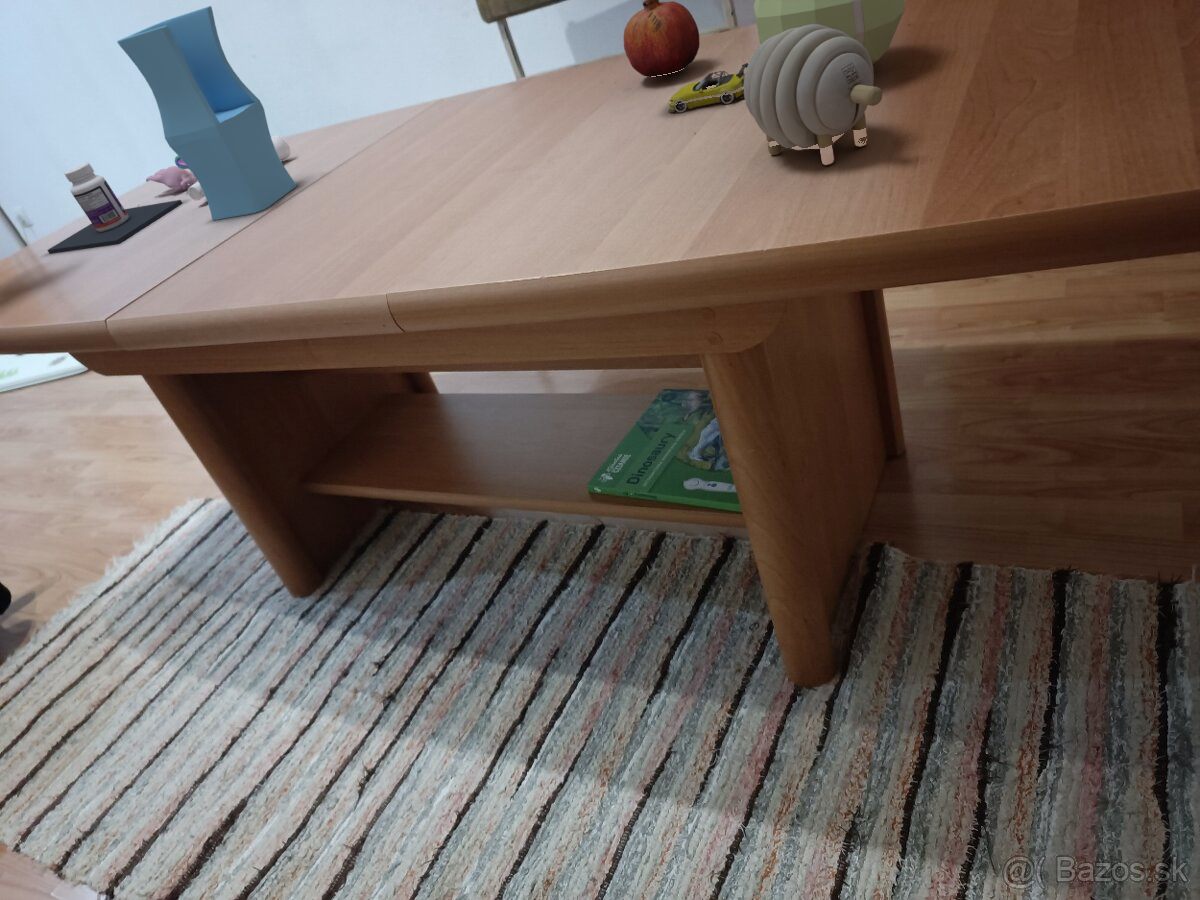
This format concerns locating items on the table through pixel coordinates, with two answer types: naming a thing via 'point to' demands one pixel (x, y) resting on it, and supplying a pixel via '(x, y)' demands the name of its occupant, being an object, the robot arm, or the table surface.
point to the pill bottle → (96, 198)
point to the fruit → (661, 39)
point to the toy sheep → (809, 87)
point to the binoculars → (281, 149)
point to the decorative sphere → (834, 19)
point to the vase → (210, 114)
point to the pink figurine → (174, 176)
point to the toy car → (709, 91)
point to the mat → (116, 228)
